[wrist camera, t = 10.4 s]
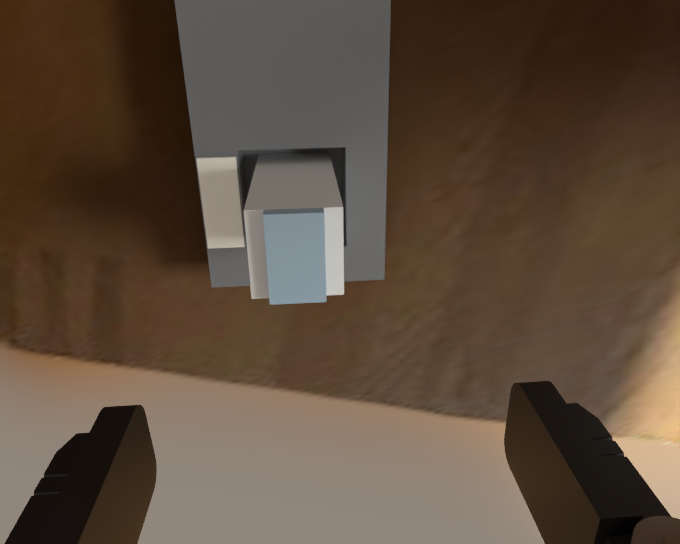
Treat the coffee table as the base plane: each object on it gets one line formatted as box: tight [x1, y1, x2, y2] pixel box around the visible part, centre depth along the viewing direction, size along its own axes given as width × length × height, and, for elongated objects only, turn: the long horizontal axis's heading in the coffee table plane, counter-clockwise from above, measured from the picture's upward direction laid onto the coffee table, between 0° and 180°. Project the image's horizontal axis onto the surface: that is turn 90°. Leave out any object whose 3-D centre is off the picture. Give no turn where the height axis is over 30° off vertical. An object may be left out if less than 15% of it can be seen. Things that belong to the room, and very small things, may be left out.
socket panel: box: [174, 0, 391, 287], centre depth 27 cm, size 10×24×4 cm, turn 1°
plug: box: [244, 152, 344, 305], centre depth 27 cm, size 4×4×11 cm
